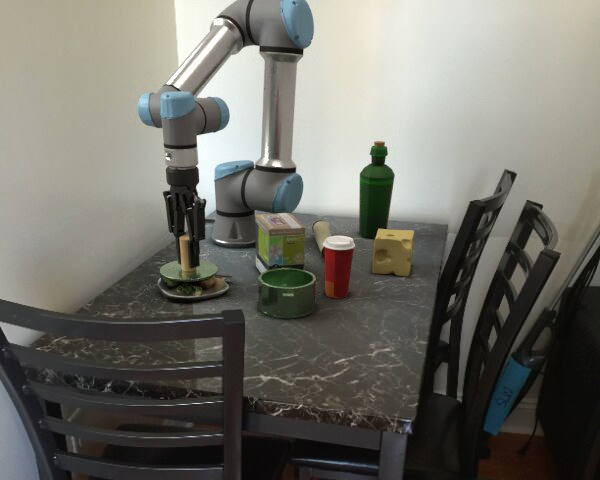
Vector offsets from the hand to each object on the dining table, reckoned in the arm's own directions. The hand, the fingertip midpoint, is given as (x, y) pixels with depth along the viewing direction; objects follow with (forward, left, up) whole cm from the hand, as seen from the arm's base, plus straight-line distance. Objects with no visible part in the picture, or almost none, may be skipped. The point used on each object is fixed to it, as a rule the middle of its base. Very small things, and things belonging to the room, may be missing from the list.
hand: (188, 264), depth 161 cm
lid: (0, 0, -2) cm, 2 cm away
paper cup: (+28, +24, -7) cm, 38 cm away
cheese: (+27, +49, -7) cm, 56 cm away
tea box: (+8, +24, -7) cm, 26 cm away
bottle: (+4, +71, -7) cm, 72 cm away
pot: (+25, +9, -7) cm, 27 cm away
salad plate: (0, 0, -7) cm, 7 cm away
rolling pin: (+2, +50, -7) cm, 50 cm away
